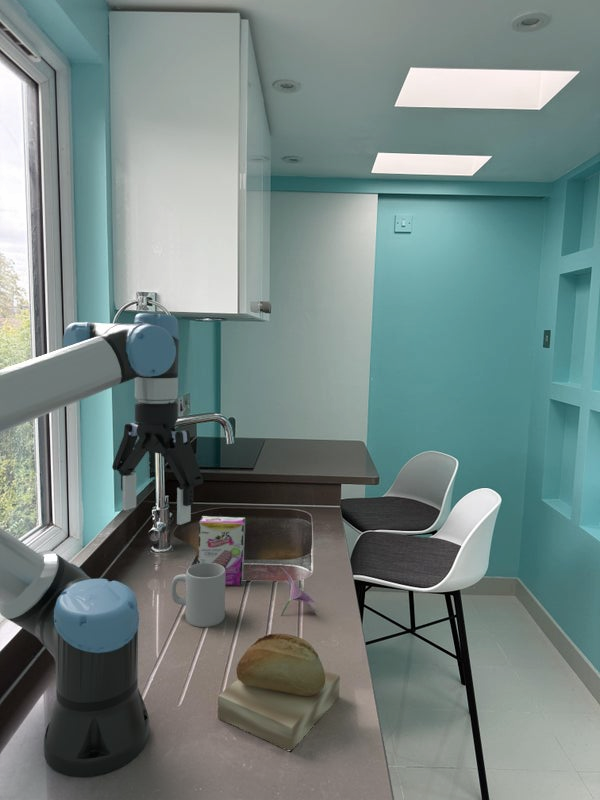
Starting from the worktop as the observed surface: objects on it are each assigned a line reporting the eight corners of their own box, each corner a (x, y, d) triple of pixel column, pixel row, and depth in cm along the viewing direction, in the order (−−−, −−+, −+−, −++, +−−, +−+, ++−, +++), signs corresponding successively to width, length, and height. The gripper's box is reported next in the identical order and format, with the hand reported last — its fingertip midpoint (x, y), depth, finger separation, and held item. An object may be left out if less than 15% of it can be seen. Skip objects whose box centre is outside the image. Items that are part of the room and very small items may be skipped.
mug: (228, 610, 131) (229, 563, 130) (219, 629, 123) (220, 579, 122) (177, 605, 132) (177, 559, 131) (164, 624, 124) (165, 575, 123)
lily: (314, 633, 124) (331, 590, 127) (264, 611, 124) (282, 568, 126) (306, 623, 136) (322, 584, 138) (261, 603, 136) (278, 564, 138)
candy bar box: (197, 586, 143) (198, 521, 141) (200, 577, 148) (201, 515, 146) (242, 587, 143) (244, 523, 141) (244, 578, 148) (245, 516, 146)
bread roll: (243, 665, 103) (244, 622, 102) (327, 673, 101) (329, 630, 100) (230, 698, 93) (231, 651, 92) (322, 708, 92) (324, 661, 91)
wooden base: (290, 752, 87) (291, 727, 87) (217, 718, 94) (218, 695, 94) (338, 697, 101) (339, 675, 101) (272, 671, 108) (272, 651, 108)
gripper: (224, 405, 101) (222, 523, 103) (123, 393, 114) (123, 498, 116) (195, 409, 94) (194, 534, 97) (92, 396, 107) (93, 507, 110)
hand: (155, 515), depth 106 cm, fingers open, 13 cm apart
